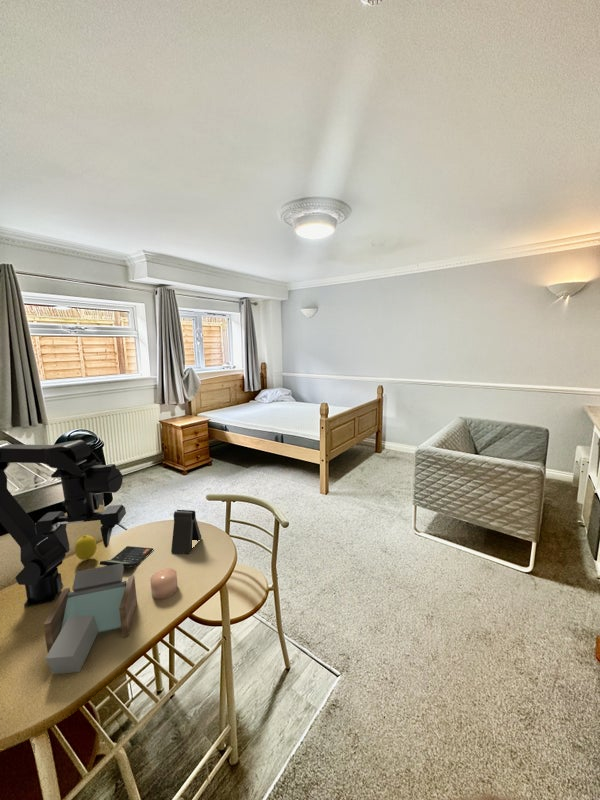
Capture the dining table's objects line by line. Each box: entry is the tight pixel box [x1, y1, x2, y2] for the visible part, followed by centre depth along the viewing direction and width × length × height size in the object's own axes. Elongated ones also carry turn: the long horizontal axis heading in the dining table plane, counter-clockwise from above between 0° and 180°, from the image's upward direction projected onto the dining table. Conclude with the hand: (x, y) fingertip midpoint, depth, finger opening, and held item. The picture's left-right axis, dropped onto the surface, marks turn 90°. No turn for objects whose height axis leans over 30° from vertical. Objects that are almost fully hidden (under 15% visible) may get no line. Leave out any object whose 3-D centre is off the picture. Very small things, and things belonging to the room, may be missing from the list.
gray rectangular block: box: [44, 615, 99, 675], centre depth 68 cm, size 5×5×8 cm
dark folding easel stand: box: [170, 509, 203, 555], centre depth 108 cm, size 9×6×12 cm, turn 171°
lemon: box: [74, 534, 98, 561], centre depth 102 cm, size 6×6×8 cm
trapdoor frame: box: [43, 574, 138, 654], centre depth 77 cm, size 15×11×7 cm
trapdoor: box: [61, 563, 127, 634], centre depth 78 cm, size 12×14×2 cm
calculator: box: [99, 545, 154, 568], centre depth 102 cm, size 9×12×3 cm
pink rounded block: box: [149, 567, 179, 600], centre depth 88 cm, size 6×6×4 cm
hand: (87, 549), depth 85 cm, fingers open, 9 cm apart
